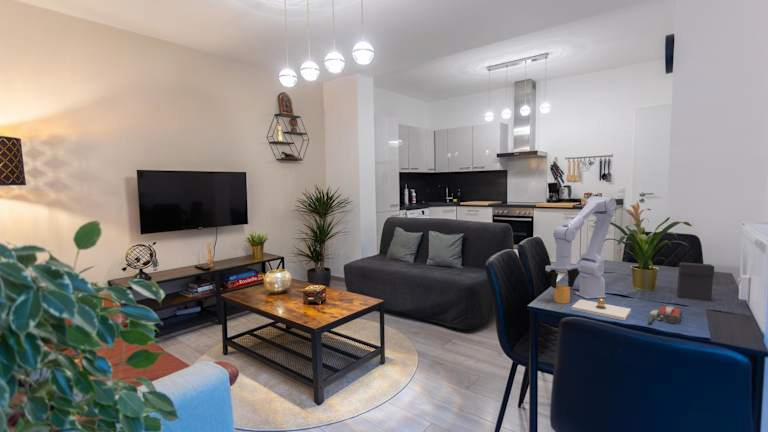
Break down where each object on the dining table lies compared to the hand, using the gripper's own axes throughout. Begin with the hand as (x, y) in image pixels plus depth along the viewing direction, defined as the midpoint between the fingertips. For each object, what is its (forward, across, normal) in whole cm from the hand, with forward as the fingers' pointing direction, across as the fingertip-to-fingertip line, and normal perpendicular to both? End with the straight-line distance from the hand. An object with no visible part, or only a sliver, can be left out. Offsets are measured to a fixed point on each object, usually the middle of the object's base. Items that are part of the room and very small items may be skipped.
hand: (562, 287), depth 159 cm
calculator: (+6, +57, -6) cm, 58 cm away
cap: (+6, 0, 0) cm, 6 cm away
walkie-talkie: (+7, +24, -25) cm, 36 cm away
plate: (+6, +8, -13) cm, 16 cm away
